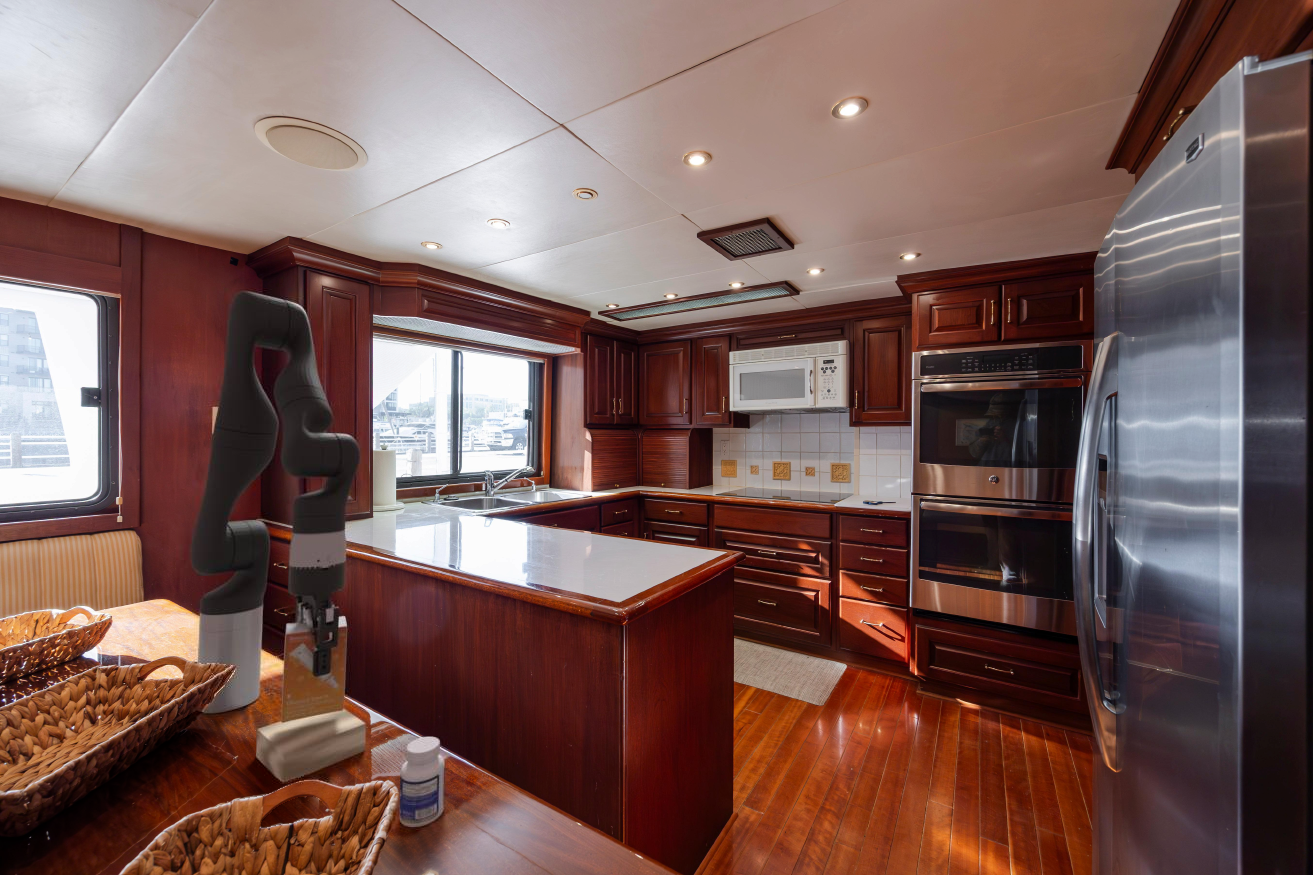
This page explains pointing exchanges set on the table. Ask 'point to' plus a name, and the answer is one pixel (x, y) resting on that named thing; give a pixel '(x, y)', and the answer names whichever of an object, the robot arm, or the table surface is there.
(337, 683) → the small box
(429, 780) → the pill bottle
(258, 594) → the robot arm
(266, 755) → the birch block
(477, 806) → the table surface
